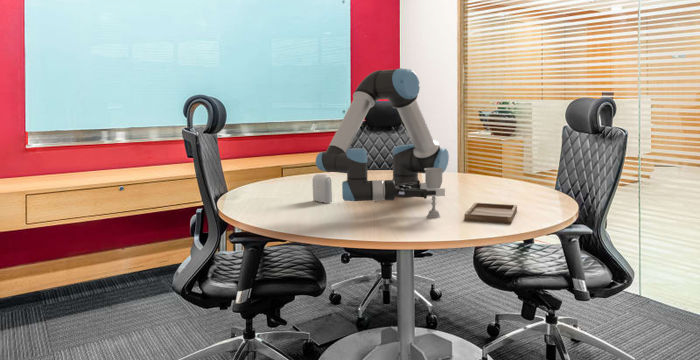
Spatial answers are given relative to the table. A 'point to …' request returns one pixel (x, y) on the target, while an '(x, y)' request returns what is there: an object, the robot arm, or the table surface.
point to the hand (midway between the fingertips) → (440, 188)
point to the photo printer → (322, 188)
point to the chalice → (433, 186)
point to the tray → (491, 213)
